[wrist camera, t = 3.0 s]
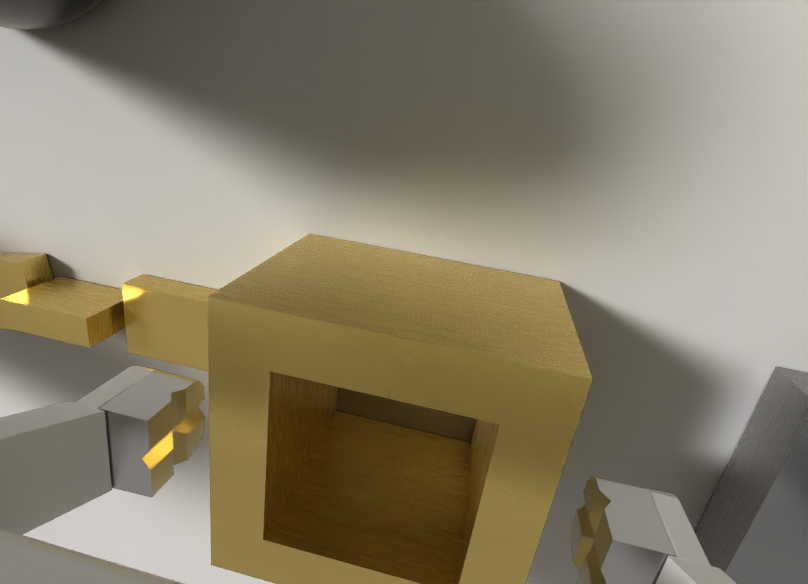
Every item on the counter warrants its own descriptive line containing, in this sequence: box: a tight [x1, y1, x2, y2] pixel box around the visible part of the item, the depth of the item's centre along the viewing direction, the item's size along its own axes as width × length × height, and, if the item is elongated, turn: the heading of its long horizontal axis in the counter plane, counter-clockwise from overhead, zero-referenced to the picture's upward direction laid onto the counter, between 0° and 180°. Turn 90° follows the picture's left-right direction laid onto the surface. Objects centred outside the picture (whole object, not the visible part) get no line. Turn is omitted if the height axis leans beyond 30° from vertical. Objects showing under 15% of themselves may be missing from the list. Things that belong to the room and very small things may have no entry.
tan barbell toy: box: [0, 253, 218, 371], centre depth 13 cm, size 2×8×2 cm, turn 82°
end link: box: [208, 234, 593, 584], centre depth 10 cm, size 6×6×4 cm
